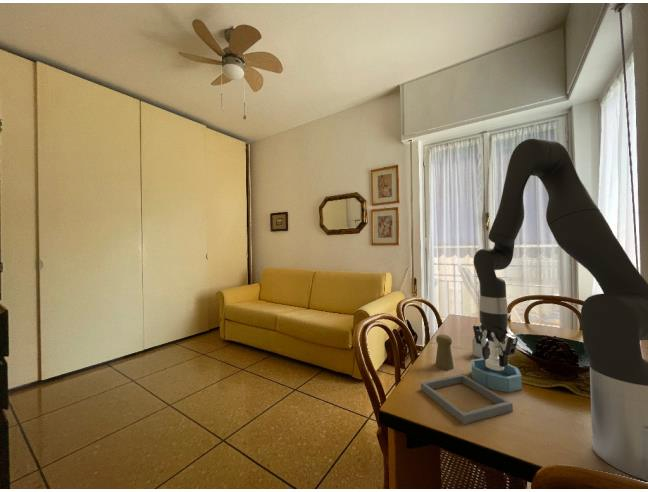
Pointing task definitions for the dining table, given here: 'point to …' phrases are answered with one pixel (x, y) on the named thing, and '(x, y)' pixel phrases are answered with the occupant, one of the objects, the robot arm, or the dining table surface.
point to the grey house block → (477, 348)
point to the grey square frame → (477, 414)
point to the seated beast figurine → (509, 328)
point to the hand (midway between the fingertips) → (494, 362)
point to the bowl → (496, 376)
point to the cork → (444, 352)
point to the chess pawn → (493, 358)
